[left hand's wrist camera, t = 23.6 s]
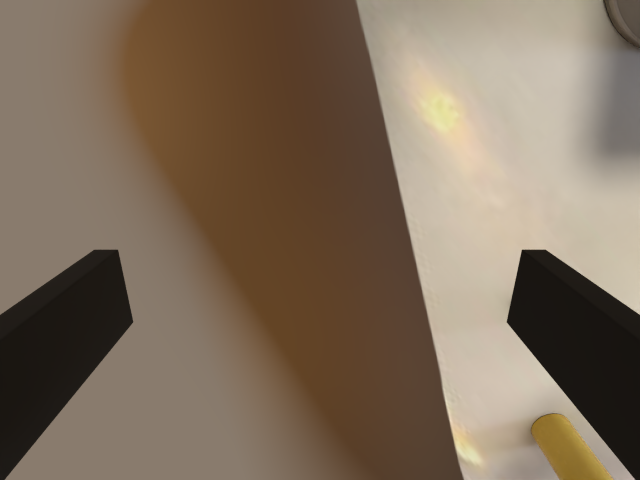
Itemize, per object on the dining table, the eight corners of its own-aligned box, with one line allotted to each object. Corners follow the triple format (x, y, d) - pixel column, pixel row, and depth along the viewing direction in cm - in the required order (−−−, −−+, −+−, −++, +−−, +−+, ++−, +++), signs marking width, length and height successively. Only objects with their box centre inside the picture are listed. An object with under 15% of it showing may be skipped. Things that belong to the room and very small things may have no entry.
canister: (534, 414, 54) (584, 490, 44) (572, 412, 54) (632, 488, 44) (528, 442, 56) (575, 521, 46) (565, 441, 56) (621, 519, 46)
